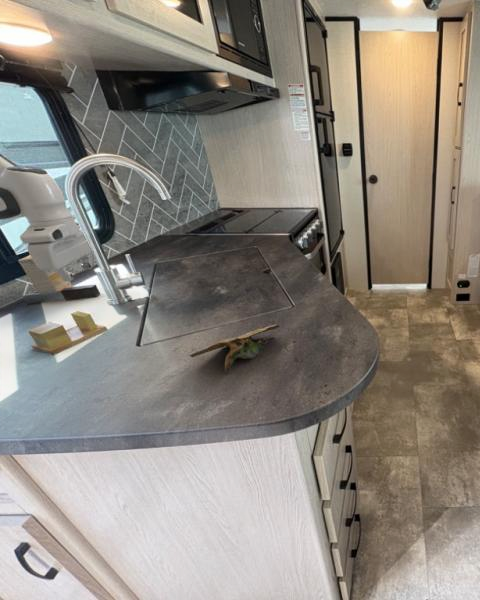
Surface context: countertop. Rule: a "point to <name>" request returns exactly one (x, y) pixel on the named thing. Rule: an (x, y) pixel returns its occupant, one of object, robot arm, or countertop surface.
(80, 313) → the butter slice
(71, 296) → the knife
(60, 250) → the robot arm
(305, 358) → the countertop surface
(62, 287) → the supplement box
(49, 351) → the butter board
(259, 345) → the dried leafy seed pod
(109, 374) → the countertop surface
